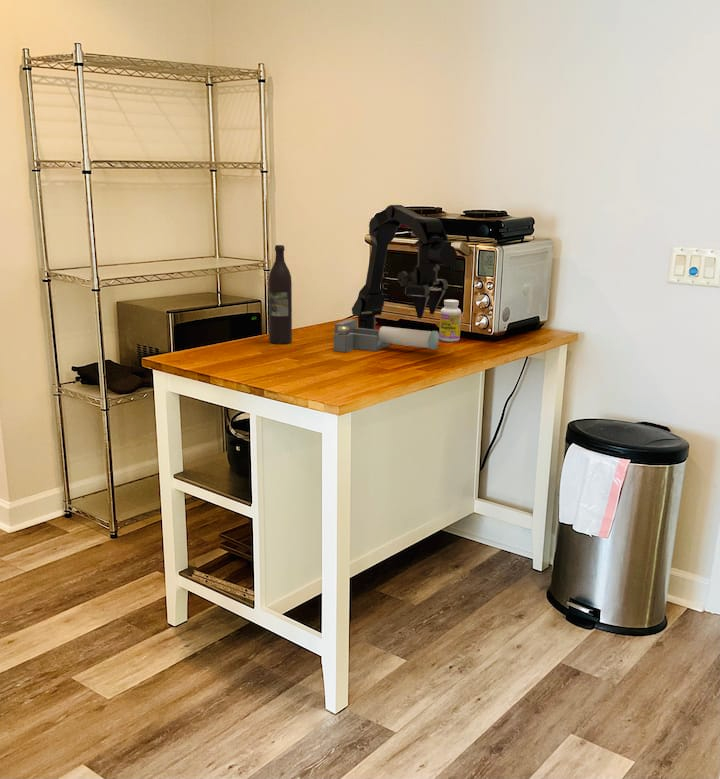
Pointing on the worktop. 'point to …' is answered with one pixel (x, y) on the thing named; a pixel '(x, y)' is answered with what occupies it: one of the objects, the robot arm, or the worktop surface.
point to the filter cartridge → (409, 337)
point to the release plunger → (343, 330)
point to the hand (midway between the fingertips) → (425, 316)
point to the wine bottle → (280, 300)
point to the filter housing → (357, 338)
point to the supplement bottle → (450, 321)
